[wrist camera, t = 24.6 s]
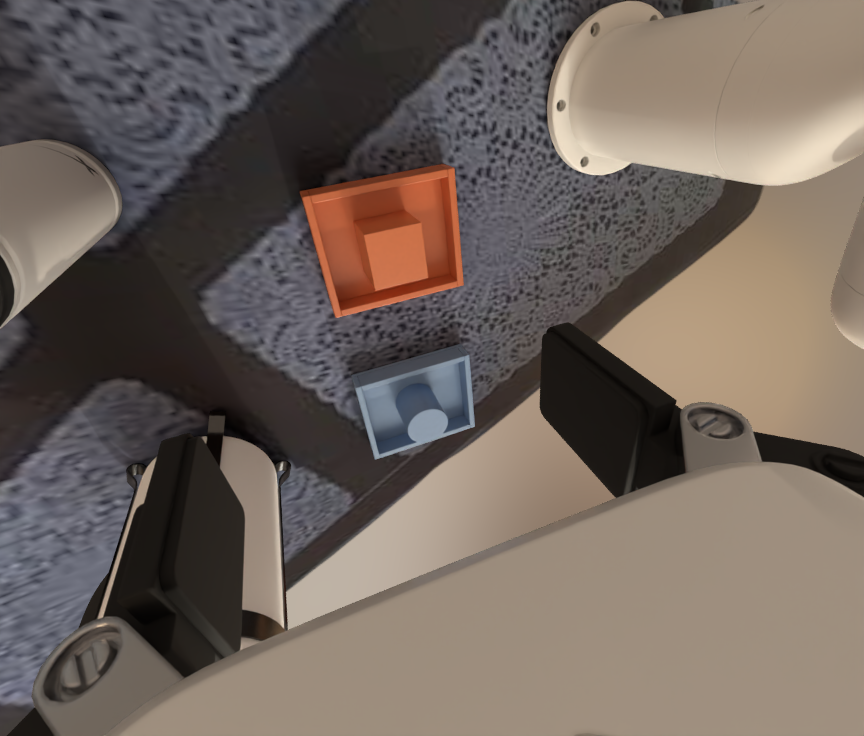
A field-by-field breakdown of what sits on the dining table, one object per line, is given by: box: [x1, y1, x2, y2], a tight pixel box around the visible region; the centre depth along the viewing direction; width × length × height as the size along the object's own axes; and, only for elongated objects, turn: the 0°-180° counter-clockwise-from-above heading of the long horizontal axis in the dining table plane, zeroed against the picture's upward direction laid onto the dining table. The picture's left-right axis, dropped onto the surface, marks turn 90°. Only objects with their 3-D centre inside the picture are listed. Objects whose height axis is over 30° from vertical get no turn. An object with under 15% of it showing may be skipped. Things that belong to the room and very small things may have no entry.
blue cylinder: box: [396, 384, 448, 443], centre depth 46 cm, size 4×4×5 cm
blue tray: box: [351, 344, 475, 459], centre depth 47 cm, size 12×10×2 cm
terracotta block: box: [353, 210, 428, 291], centre depth 35 cm, size 5×5×5 cm
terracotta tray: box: [300, 164, 464, 318], centre depth 37 cm, size 12×10×2 cm
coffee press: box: [79, 411, 291, 650], centre depth 32 cm, size 17×16×30 cm
